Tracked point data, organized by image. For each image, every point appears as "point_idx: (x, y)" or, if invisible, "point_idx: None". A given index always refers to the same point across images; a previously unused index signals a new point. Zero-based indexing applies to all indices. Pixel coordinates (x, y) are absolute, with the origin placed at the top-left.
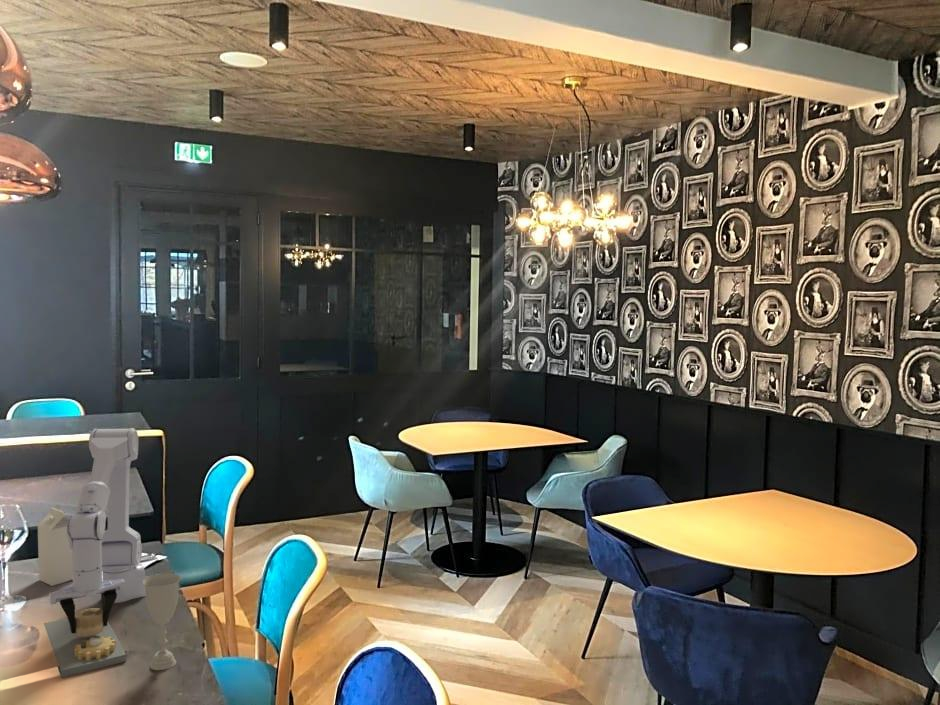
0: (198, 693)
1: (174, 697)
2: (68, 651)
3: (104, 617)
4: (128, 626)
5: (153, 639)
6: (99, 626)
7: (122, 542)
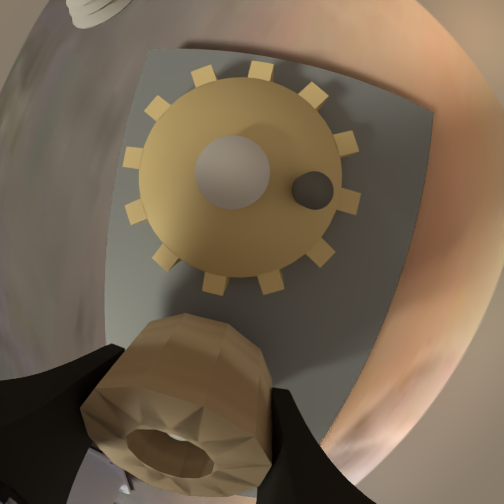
0: None
1: None
2: (341, 287)
3: (91, 369)
4: (71, 356)
5: (32, 192)
6: (142, 338)
7: None
